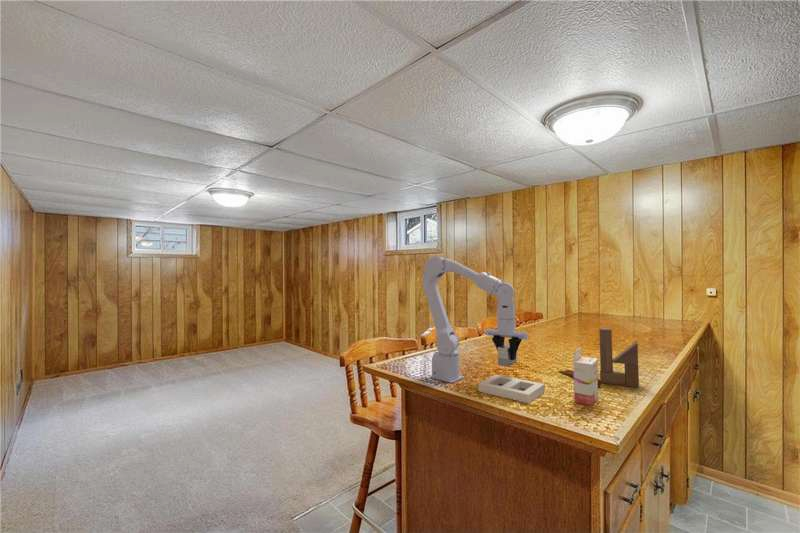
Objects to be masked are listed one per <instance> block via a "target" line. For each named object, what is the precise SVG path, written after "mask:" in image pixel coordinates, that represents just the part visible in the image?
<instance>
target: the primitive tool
mask: <svg viewBox="0 0 800 533" xmlns="http://www.w3.org/2000/svg"><path fill="white" fill-rule="evenodd" d="M557 373H559V374H561V375H564V376H566V377H568V378H571V379H574V370H573V369H565V370H558V371H557ZM601 386H602V383H601V381H600V378H598V389H599V388H601Z"/></svg>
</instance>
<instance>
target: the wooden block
mask: <svg viewBox="0 0 800 533" xmlns="http://www.w3.org/2000/svg"><path fill="white" fill-rule="evenodd" d="M598 332H599V334H598V335H599V359H600V360H599V364H600V369H599V380H600V381H601V384H607V385H618V386H627V387H633V388H639V387H640V378H639V377H640V376H639V348H638V346H639V345H638V344H639V343H638V342H637V341H634V342H633V343H631V344H630V345H629V346H628V347H627V348H625V349H624V350H623V351H621V352H620V353H619V354H618V355H617V356H615V357H614V358H613V332H612V328H607V327H601V328H599V331H598ZM613 364H622V365H623V364H624V365H623V366H624V372H621V371H618V370H614V369H613V368H614V367H613V366H614V365H613Z"/></svg>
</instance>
